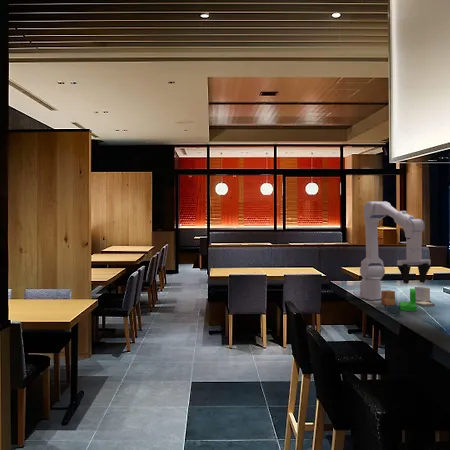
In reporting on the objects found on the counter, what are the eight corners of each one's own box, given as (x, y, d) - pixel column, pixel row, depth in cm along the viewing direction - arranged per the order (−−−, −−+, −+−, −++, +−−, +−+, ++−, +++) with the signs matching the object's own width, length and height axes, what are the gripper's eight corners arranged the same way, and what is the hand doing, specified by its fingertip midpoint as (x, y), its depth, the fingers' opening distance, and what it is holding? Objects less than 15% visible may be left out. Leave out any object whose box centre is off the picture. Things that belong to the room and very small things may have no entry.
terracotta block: (381, 304, 217) (381, 290, 217) (389, 304, 219) (389, 290, 219) (387, 306, 213) (386, 291, 213) (395, 305, 215) (394, 291, 215)
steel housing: (413, 301, 226) (413, 286, 226) (420, 300, 227) (420, 286, 227) (424, 303, 219) (424, 288, 219) (431, 303, 220) (431, 288, 220)
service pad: (411, 304, 217) (411, 301, 217) (422, 303, 219) (422, 301, 219) (423, 306, 210) (423, 304, 210) (434, 306, 212) (434, 303, 212)
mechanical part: (399, 306, 214) (399, 287, 214) (415, 307, 212) (414, 287, 212) (400, 311, 202) (400, 291, 202) (416, 311, 201) (416, 291, 201)
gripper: (405, 249, 198) (405, 284, 198) (435, 249, 202) (436, 283, 202) (393, 249, 204) (394, 282, 204) (423, 248, 209) (424, 281, 209)
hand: (414, 282), depth 204 cm, fingers open, 7 cm apart
